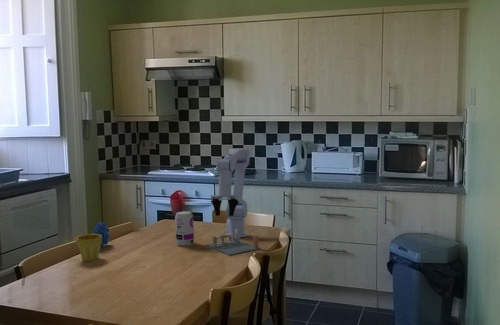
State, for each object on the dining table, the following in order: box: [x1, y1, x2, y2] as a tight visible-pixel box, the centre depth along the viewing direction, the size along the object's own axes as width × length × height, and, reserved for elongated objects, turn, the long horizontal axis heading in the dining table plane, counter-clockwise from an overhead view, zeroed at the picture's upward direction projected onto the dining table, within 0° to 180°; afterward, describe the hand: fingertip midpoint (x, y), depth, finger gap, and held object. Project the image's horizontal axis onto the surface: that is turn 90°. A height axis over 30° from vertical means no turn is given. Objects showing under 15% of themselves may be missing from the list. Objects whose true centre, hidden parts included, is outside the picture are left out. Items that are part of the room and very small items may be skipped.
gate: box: [212, 233, 236, 247], centre depth 236 cm, size 11×1×4 cm, turn 124°
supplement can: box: [174, 210, 195, 247], centre depth 243 cm, size 8×8×15 cm
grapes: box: [92, 221, 111, 248], centre depth 243 cm, size 12×7×12 cm, turn 160°
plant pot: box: [75, 233, 102, 262], centre depth 224 cm, size 10×10×10 cm
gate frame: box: [205, 229, 261, 256], centre depth 235 cm, size 21×16×7 cm
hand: (224, 215), depth 234 cm, fingers open, 7 cm apart
